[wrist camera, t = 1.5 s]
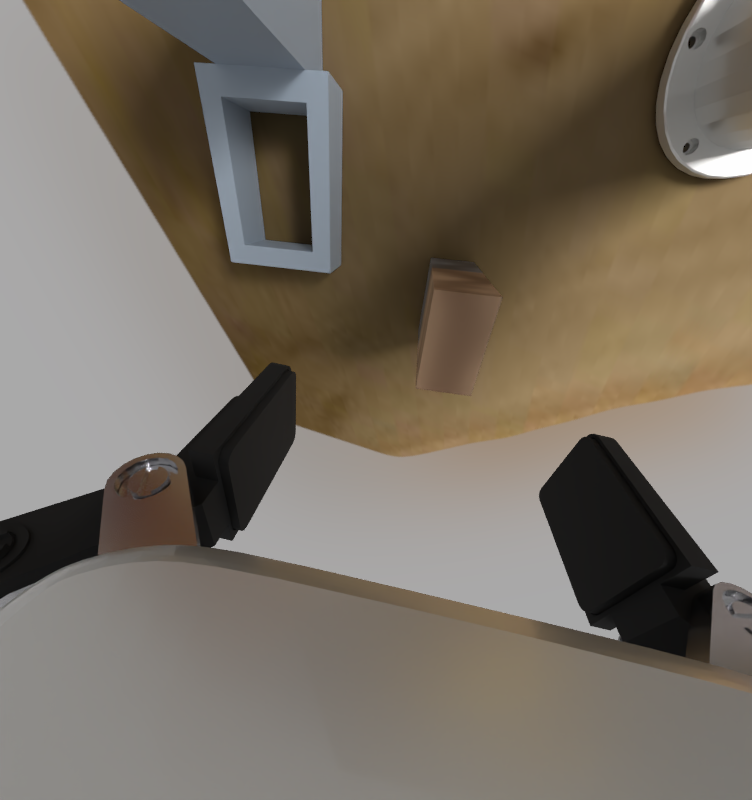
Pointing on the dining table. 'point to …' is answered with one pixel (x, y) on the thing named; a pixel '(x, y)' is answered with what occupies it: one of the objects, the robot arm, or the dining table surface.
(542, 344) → the dining table surface
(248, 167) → the blue stepped tray
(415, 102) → the dining table surface
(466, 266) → the wooden rectangular block
